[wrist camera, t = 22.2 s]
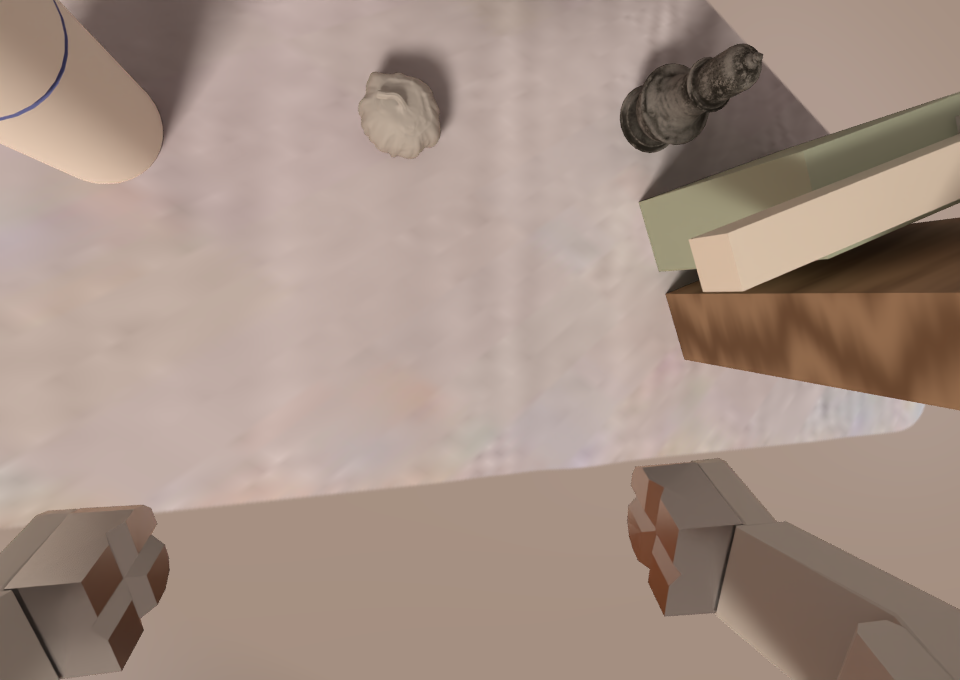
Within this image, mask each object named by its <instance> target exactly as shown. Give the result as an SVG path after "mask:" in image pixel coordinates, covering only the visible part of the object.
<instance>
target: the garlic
mask: <svg viewBox="0 0 960 680" xmlns="http://www.w3.org/2000/svg"><path fill="white" fill-rule="evenodd" d="M358 112H359V115H360V117H361V126H362V128H363V129H364V133H365V135H366V136H368V137H369V140H370V141H371V142H372V143H374V144H375V146H376V147H377V149H378V150H380V151H381V152H385V153H390V155H391V157H393V158H394V157H396V156H400V157H403V158H406V159H414V158H416V157H417V156H418V155H419V153H420V152H422V151H423V149H424V148H431V147H433V146H435V145H436V144H437V142H438V140H439V138H440V133H441V129H440V121H439V114H440V111H439V108H438V106H437V103H436V101H435V100H434V97H433V92H432V91H431V89H430V88H429V87H428V85H427V84H425V83H424V82H422V81H421V80H420V79H417V78H414V77H410V76H406V75H404V74H402V73H400V72H396V73H394V74H383V73H380V72H373V73H371V74H370V77H369V80H368V81H367V84H366V95H365V97H364V98H363V99H362V100H361V101H360V103H359V106H358Z"/></svg>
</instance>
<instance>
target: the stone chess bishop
mask: <svg viewBox="0 0 960 680" xmlns="http://www.w3.org/2000/svg"><path fill="white" fill-rule="evenodd" d="M762 58H763V54H761V53H759V52H758V51H757V50H756V49H755V48H754V47H752V46H750V45H748V44H737V45H734V46H732V47H730V48H728V49H727V50H725V51H723V52H722V53H720V54H719V55H717V56H716V57H714V58H712V57H707V58H703V59H700V60H698V61H697V62H696V63H695V64H694V65H693V66H692V68H691V69H689V68H688V67H686V66H684V65H680V64H666V65H663V66H661V67H659V68H657V69H656V70H655V71H654V72H652V73H651V74H650V75H649V77H648V78H647V80H646V81H645V83H644V86H641V87H638V88H636V89H634V90H633V91H632V92H631V93H629V94H628V95H627V97H626V98H625V100H624V102H623V104H622V107H621V112H620V123H621V128H622V131H623V134H624V136H625V137H626V139H627V140H628V142H629V143H630V144H631V145H632V146H633V147H635V148H636V149H638V150H640V151H642V152H648V153H652V152H658V151H660V150H662V149H664V148H666V147H667V146H668V145H669V144H672V145H680V144H685V143H687V142H689V141H691V140H693V139H694V138H696V137H697V136H698V135H699V134H700V133H701V131H702V129H703V128H704V126H705V124H706V121H707V118H708V113H709V112H716V111H718V110H720V109H722V108H723V107H724V106H725V105H726V104H727V102H728V101H729V99H730V98H731V97H733V96H735V95H737V94H739V93H741V92H743V91H745V90H747V89H749V88H750V87H751V86H752V85H753V84H754V83H756V81H757V80H758V78H759V75H760V72H761V67H762V62H761V61H762Z"/></svg>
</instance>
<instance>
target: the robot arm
mask: <svg viewBox="0 0 960 680" xmlns="http://www.w3.org/2000/svg"><path fill="white" fill-rule="evenodd" d="M631 487H632V488H633V490H634V492H635V494H636V498H635V499H634V500H633V501H632V502H631V503H630V504H629V505H628V516H627V523H628V532H629V538H630V541H631V545H632V548H633V551H634V553H635V555H636V557H637V560H638V561H639V562H641V563H642V564H644V565H645V566H646V567H648V568H649V569H650V571H649V578H648V583H649V585H650V588H651V590H652V592H653V594H654V596H655V598H656V600H657V602H658V604H659V607H660V609H661V611H662V613H663V615H664V616H678V615H692V614H706V613H716V616H717V617H718V618H719V619H720V620H722V621H723V622H724V623H725V624H726V625H727V626H729V627H730V628H731V629H732V630H733V631H734V632H736V633H737V634H738V635H739V636H740V637H742V638H743V639H744V640H745V641H746V642H748V643H749V644H750V645H751V646H752V647H753V648H755V649H756V650H757V651H758V652H759V653H761V654H762V655H763V656H764V657H765V658H766V659H768V660H769V661H770V662H771V663H772V664H773V665H775V666H776V667H777V668H778V669H779V670H781V671H782V672H783V673H784V674H785V675H786V676H788V677H789V678H790V679H791V680H960V609H958V608H956V607H954V606H952V605H950V604H948V603H946V602H944V601H942V600H940V599H938V598H936V597H934V596H932V595H930V594H928V593H926V592H924V591H922V590H920V589H918V588H916V587H915V586H913V585H910V584H909V583H907V582H905V581H903V580H901V579H899V578H897V577H895V576H893V575H891V574H889V573H887V572H885V571H883V570H881V569H879V568H877V567H875V566H873V565H871V564H869V563H867V562H865V561H863V560H861V559H859V558H857V557H855V556H853V555H851V554H849V553H847V552H845V551H844V550H841V549H840V548H838V547H836V546H834V545H832V544H829V543H828V542H826V541H824V540H822V539H820V538H818V537H816V536H814V535H812V534H810V533H808V532H806V531H804V530H802V529H800V528H798V527H796V526H794V525H792V524H790V523H788V522H777V521H776V520H775V519H774V518H773V517H772V515H771V514H770V513H769V512H768V511H767V509H766V508H765V507H764V506H763V505H762V504H761V502H760V501H759V500H758V499H757V498H756V497H755V495H754V494H753V493H752V492H751V491H750V490H749V488H748V487H747V486H746V485H745V484H744V483H743V481H742V480H741V479H740V478H739V477H738V475H737V474H736V473H735V472H734V471H733V469H732V468H731V467H730V466H729V465H728V464H727V462H726V461H724V460H722V459H720V458H715V459H705V460H696V461H691V462H683V463H670V464H658V465H646V466H636V467H635V469H634V471H633V473H632V480H631ZM156 525H157V521H156V519H155V516H154V514H153V512H152V509H151V508H150V507H147V506H144V505H130V506H112V507H94V508H80V509H67V510H51V511H46V512H44V513H41V514H39V515H36V516H35V517H34V518H33V519H32V520H31V521H30V523H29V524H28V525H27V526H26V527H25V528H24V529H23V530H22V531H21V532H20V533H19V534H18V535H17V536H16V537H15V538H14V539H13V540H12V541H11V542H10V544H9V545H8V546H7V547H6V548H5V549H4V550H3V551H2V552H1V553H0V680H60V679H65V678H72V677H80V676H88V675H96V674H104V673H112V672H119V671H122V670H123V668H124V666H125V664H126V662H127V660H128V659H129V657H130V655H131V653H132V651H133V649H134V648H135V646H136V644H137V642H138V640H139V638H140V637H141V635H142V633H143V631H144V629H143V626H142V622H141V619H140V618H142V617H143V616H144V615H145V614H146V613H148V612H149V611H150V610H152V609H153V608H154V607H155V606H157V605H158V603H159V601H160V599H161V597H162V595H163V593H164V591H165V589H166V584H167V580H168V575H169V571H170V569H169V556H168V553H167V550H166V547H165V544H163V543H162V542H161V541H159V540H158V539H157V538H155V537H154V536H152V535H151V534H152V533H153V531H154V529H155V527H156Z"/></svg>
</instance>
